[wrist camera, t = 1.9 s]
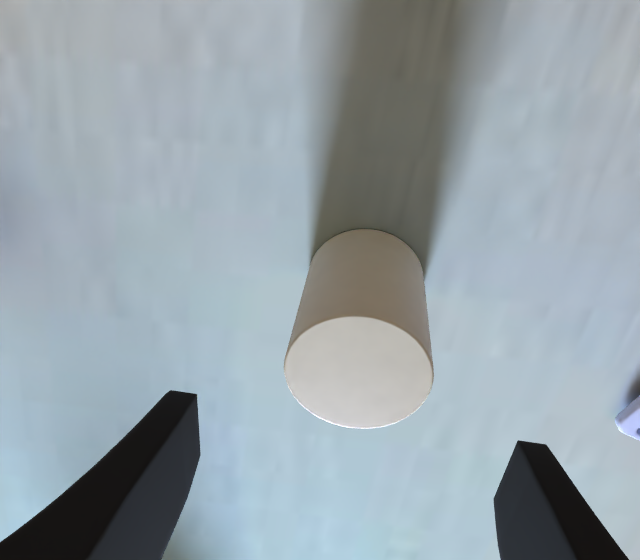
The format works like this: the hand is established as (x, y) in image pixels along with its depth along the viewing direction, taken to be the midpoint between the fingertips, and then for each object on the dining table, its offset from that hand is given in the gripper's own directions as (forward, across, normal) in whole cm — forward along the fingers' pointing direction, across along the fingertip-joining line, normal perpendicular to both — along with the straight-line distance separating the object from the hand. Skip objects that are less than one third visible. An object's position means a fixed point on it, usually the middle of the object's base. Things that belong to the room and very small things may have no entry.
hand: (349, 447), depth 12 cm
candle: (+7, 0, 0) cm, 7 cm away
